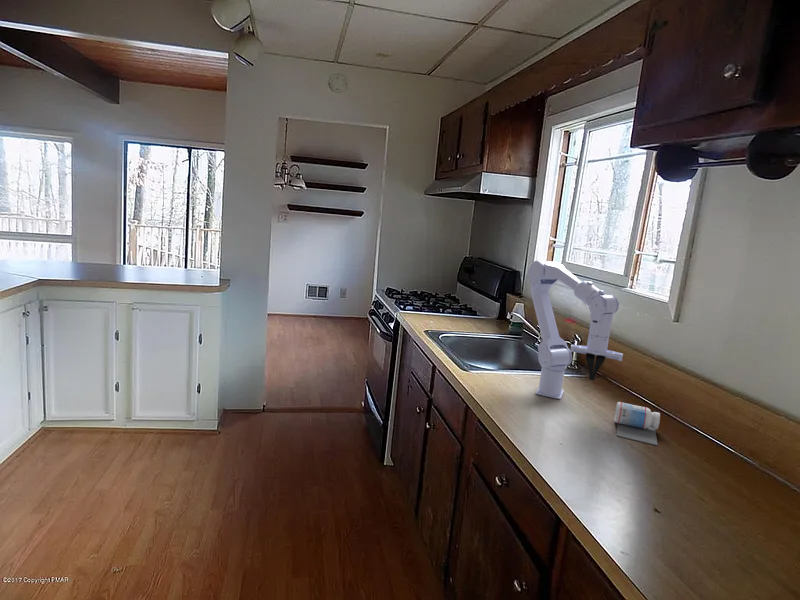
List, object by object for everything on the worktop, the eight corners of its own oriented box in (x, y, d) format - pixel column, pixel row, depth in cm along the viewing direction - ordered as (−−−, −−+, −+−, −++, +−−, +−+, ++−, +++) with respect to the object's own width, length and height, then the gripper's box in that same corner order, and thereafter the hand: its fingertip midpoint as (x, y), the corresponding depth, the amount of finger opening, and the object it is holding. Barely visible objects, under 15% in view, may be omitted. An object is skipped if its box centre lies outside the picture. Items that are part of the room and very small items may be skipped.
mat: (617, 411, 158) (618, 410, 157) (653, 419, 154) (653, 418, 154) (617, 436, 139) (617, 435, 139) (657, 445, 136) (657, 444, 136)
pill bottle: (613, 425, 149) (655, 435, 145) (616, 415, 144) (660, 425, 140) (615, 408, 152) (656, 417, 148) (618, 397, 148) (661, 406, 144)
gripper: (572, 333, 150) (565, 377, 152) (625, 342, 145) (617, 387, 147) (574, 329, 157) (567, 371, 159) (625, 337, 151) (617, 381, 153)
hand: (591, 379), depth 153 cm, fingers closed
